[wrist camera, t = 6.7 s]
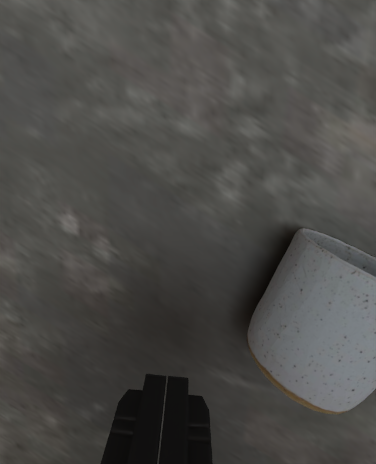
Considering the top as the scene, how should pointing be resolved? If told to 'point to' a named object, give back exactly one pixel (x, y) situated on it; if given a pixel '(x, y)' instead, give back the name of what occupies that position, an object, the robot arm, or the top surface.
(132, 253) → the top surface
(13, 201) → the top surface
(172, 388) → the robot arm
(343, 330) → the ceramic mug
